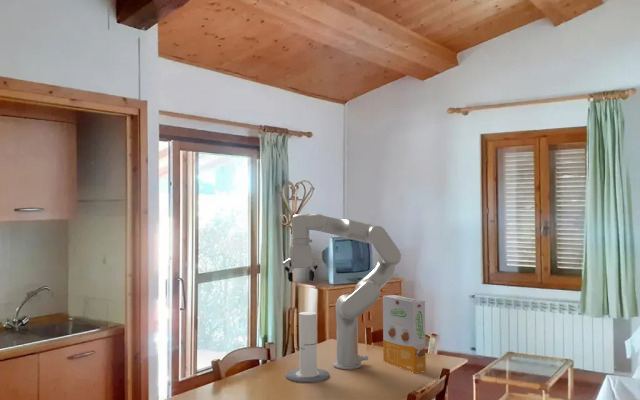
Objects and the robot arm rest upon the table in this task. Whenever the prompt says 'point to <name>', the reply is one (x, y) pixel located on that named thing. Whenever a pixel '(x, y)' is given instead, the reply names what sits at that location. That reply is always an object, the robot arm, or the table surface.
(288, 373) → the plate
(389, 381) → the table surface
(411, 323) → the cereal box
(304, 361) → the cylindrical container
